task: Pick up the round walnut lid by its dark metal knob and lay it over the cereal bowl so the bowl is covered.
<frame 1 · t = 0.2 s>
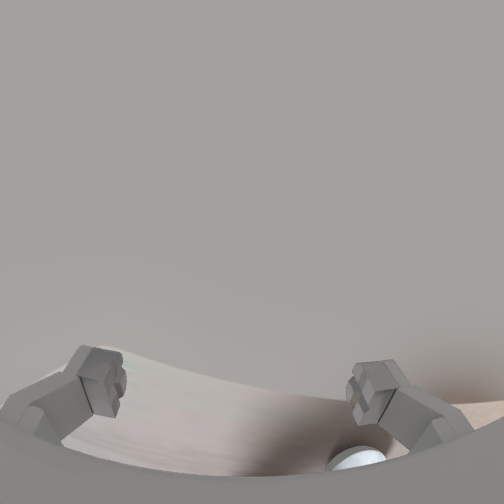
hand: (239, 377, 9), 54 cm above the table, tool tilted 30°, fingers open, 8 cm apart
cereal bowl: (346, 465, 59), on the table
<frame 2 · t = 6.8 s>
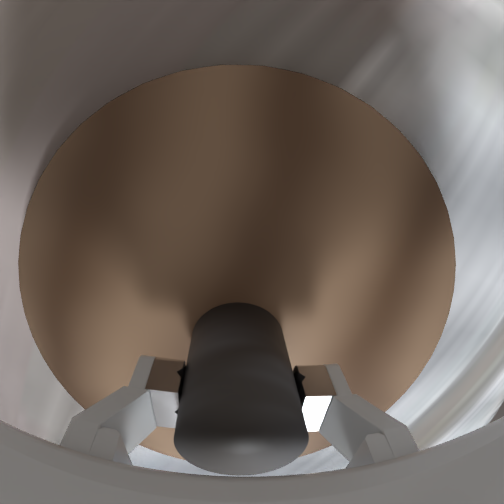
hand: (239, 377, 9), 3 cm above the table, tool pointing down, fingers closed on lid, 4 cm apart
lid: (237, 328, 12), on the table, touching gripper
when the fingers open (11 cm above the table, at t = 12.9 s): lid drops 1 cm, resting on cereal bowl.
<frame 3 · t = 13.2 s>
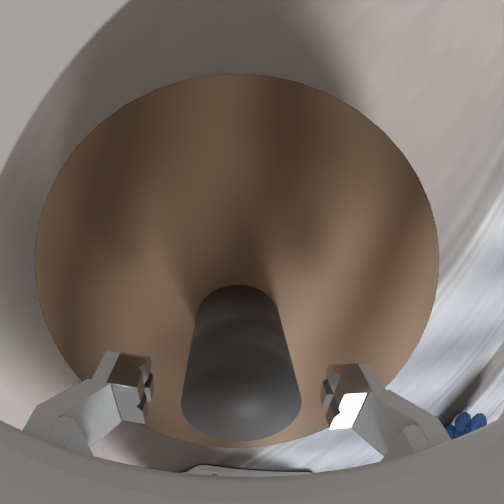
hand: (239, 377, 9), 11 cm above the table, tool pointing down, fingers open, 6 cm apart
grapes: (447, 426, 31), on the table
lid: (237, 310, 14), point 7 cm above the table, touching cereal bowl
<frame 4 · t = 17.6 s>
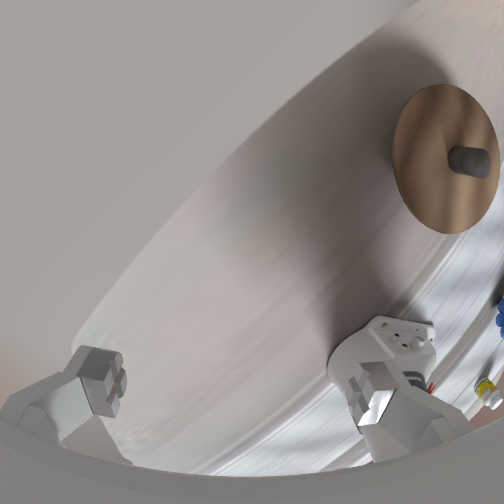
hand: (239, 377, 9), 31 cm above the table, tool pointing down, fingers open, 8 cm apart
grapes: (500, 302, 49), on the table
supplement bottle: (480, 383, 58), on the table
lid: (452, 159, 31), point 7 cm above the table, touching cereal bowl
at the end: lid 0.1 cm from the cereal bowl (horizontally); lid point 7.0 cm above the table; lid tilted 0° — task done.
